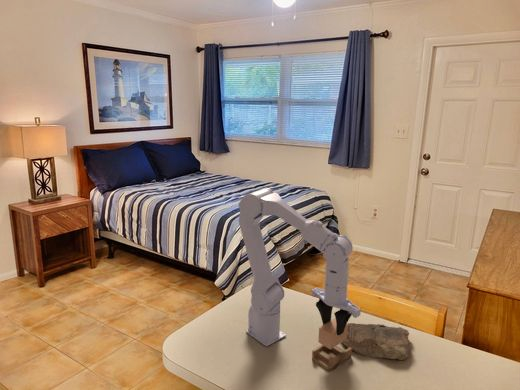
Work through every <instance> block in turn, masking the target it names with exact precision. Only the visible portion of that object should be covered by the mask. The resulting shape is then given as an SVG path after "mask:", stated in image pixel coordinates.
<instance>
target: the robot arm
mask: <svg viewBox="0 0 520 390" xmlns="http://www.w3.org/2000/svg"><path fill="white" fill-rule="evenodd" d="M238 208H239V214H238V215H239V217H238V224H239V228H240V232H241V236H242V239H243V242H244V247H245V252H246V254H247V258H248V262H249V266H250V268H251V269H250V270H251V272H252V277H253V282H252V285H251V288H250V294H251V299H250V304H251V305H250V307H249V309H248V317H247V318H248V325H247V327H248V329H246V331H245V332H246V334H248V335H250V336H251V337H252V338H254V339H255V340H257V341H258V342H259V343H261V344H262V345H263V346H265V347H268V346H270V345H272V344H274V343H277V341H279V340H281V339H283V338H285V337H287V335H286V333H284V332H283V331H281V329H280V328H281V301H283V300H284V298H285V290H284V289H285V288H284V287H283V286H282V285H281V283H280V280H279V277H277V276H275V275H273V272H272V267H271V265H270V261H269V257H268V253H267V250H266V244H265V242H264V237H263V235H262V233H263V232H262V230H261V225H260V222H262V221H261V220H262V219H263V218H264V217H266V216H267V217H268V216H276V217H278V218H279V219H281V220H283V221H284V222H286V223H287V224H288V225H291V226H292V227H294V228H295V229H297V230H298V231H300V235H301V238H302V239H303V240H305V241H306V242H307V243H309V244H310V245H312V246H313V247H315V249H317V250H318V251H319V252H320V253H322V256H323V258H324V260H325V262H326V263H325V274H324V275H325V276H324V289H322V288H319V287H315V288H314V287H313V289H311V297H313V298H319V299H318V301H317V302H316V303H315V306H316V308H317V309H318V312H319V315H320V317H321V321H322V325H324V324H326V323H328V322H330V321H331V320H332V312H333V308H336V309H338V310H337V311H334V313H333V315H334V317H335V318H336V324H337V326H336V332H337V335H341V334H342V333H344V329H345V326H346V324H348V322H349V320H350V319H351V317H353V318H355V319H356V318H358V317H359V316H361V310H362V308H360V307H359V306H357V305H356V304H355V303H353V302H352V301H351V300H350V299H348V283H349V281H348V280H349V270H350V269H349V263H350V261H349V260H350V257H349V256H350V255H351V254H352V252H353V244H352V241H351V240H350V239H349V238H348V237H347V236H346V235H343V234H342V235H341V234H340V235H339V234H338V233H336V232H333V231H332V230H330V229H329V228H327V227H326V226H324V225H323V224H324V223H323V222H322V221H320V220H316V219H311V220H310V219H309V220H308V219H307V218H306V217H304V216H303V214H300V212H298V211H297V210H296V209H294V208H293V207H292V206H291V205H290V204H289V203H287V202H285V201H284V200H283V199H282V197H281V195H280V194H279V193H277V192H275V191H274V190H272V189H271V188H269V187H262V188H260V189H259V190H257V191H254V192H251V193H250V192H249V193H247V194H244V196H243V197H242V198H241V199H240V200H239V202H238ZM335 318H334V319H335Z"/></svg>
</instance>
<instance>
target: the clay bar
mask: <svg viewBox="0 0 520 390" xmlns="http://www.w3.org/2000/svg"><path fill="white" fill-rule="evenodd" d="M336 326H337V324H336V318H333V319H331V321H330V322H328V323H326V324H324V325H323V324H322V325H321V326H319V327H318V342H317V343H319V344H320V345H324V346H325V347H327V348H329V349H332V348H333V347H335V346H338V345H341V344H342V343H343V341H344V340H346V339H347V329H348V323H347V324H346V326H345V329H344V333H342V334H341V335H337V332H336Z"/></svg>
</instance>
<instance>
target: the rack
mask: <svg viewBox="0 0 520 390" xmlns="http://www.w3.org/2000/svg"><path fill="white" fill-rule="evenodd" d="M352 351H353V350H352V348H351V347H349V348H348V347H347V348H346V349H343V348H342V347H339V346H338V345H336V346H335V347H333V348H332V349H329V348H327V347H325V346H324V345H322V344H320V345H319V346H318V347H315V348H314V349H312V352H311V354H312V355H311V360H312V361H313V362H315V363H317V364H318V365H319V366H321V367H322V368H324V369H326V370H327V371H328V372H331V371H333V370H335V369H336V368H337V367H339V366H341V364H343V363H345V362H346V361H348V360H349V359H350V358H352Z"/></svg>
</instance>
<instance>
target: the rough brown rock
mask: <svg viewBox="0 0 520 390" xmlns="http://www.w3.org/2000/svg"><path fill="white" fill-rule="evenodd" d="M347 324H348V329H347V339H346V340H344V341H343V342H342V344H343V345H344V346H345V347H346V348H347V349H348V348H349V347H351V348H352V351H353V352H355V353H357V354H360V355H364V356H367V357H375V358H379V359H383V358H384V359H388V360H389V359H391V360H399V361H404V360H407V358H409V355H410V354H409V352H410V350H409V348H410V341H409V336H410V332H409V330H407V329H405V328H403V327H400V326H399V327H398V326H397V327H395V326H387V325H385V324H381V323H380V324H379V323H377V324H374V323H355V322H354V323H353V322H351V323H348V322H347Z"/></svg>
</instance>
